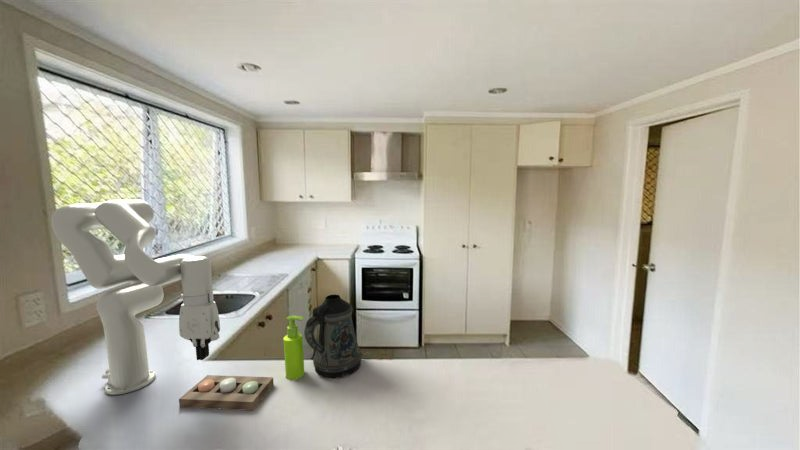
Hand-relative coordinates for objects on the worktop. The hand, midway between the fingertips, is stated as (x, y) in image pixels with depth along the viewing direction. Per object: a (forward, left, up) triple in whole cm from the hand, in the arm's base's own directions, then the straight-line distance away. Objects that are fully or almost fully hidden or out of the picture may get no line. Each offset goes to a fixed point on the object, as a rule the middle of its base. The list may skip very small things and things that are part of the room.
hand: (203, 357), depth 98 cm
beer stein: (+36, +16, -12) cm, 41 cm away
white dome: (+8, -1, -10) cm, 12 cm away
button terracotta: (+1, -1, -10) cm, 11 cm away
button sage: (+15, -1, -10) cm, 18 cm away
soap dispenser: (+24, +11, -12) cm, 29 cm away
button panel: (+8, -1, -12) cm, 14 cm away
